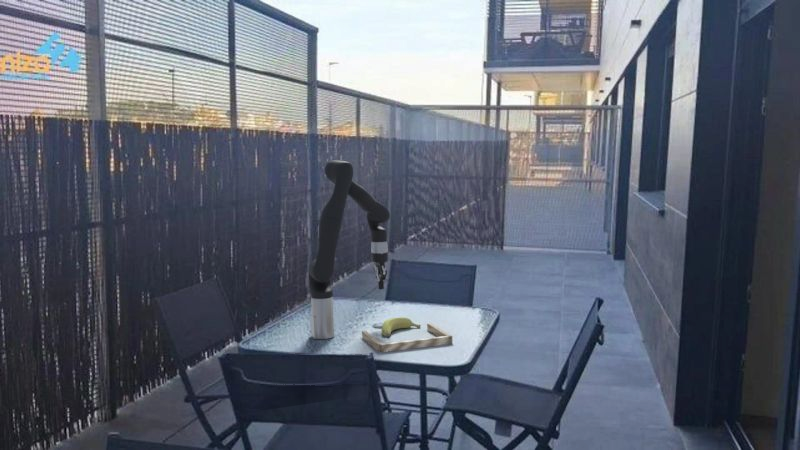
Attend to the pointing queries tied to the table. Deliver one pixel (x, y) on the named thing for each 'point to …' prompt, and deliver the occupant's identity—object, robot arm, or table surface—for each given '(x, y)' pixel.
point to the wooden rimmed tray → (410, 341)
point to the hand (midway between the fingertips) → (381, 289)
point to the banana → (396, 325)
